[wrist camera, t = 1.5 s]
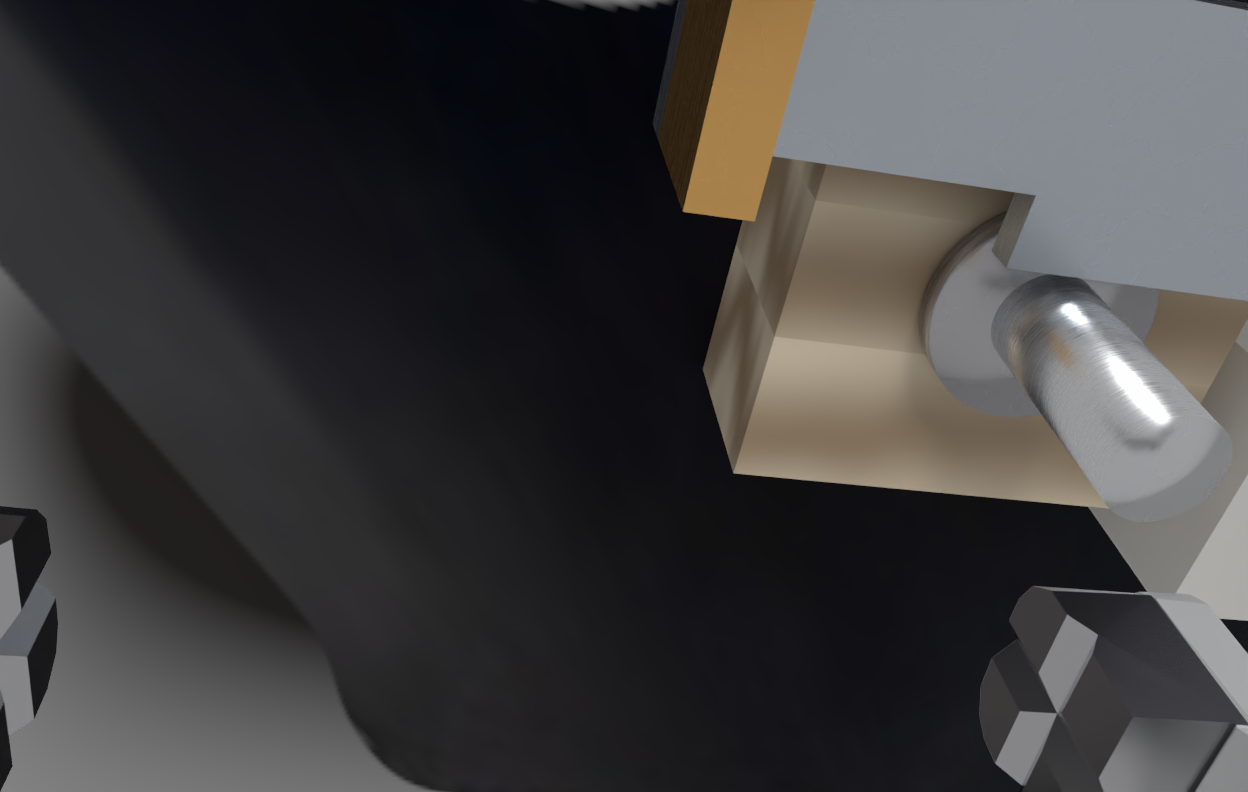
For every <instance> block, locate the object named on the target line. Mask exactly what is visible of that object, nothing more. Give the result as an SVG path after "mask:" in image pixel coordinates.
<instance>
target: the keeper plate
mask: <svg viewBox="0 0 1248 792" xmlns="http://www.w3.org/2000/svg"><path fill="white" fill-rule="evenodd" d="M653 126H654V129H655V132H656V135H657V138H658V141H659V144H660V146H661V149H662V152H663V155H664V158H665V161H666V164H667V167H668V170H669V173H670V176H671V179H672V182H673V185H674V187H675V190H676V193H677V196H678V199H679V202H680V205H681V208H682V211H683V212H689V213H696V214H703V215H710V216H718V217H725V218H732V219H740V220H747V221H754V222H755V219H756V215H757V212H758V208H759V204H760V201H761V197H762V193H763V190H764V186H765V182H766V179H767V175H768V171H769V168H770V164H771V160H772V157H773V156H775V157H782V158H789V159H795V160H802V161H809V162H815V163H822V164H829V165H835V166H842V167H849V168H855V169H862V170H869V171H876V172H882V173H889V174H896V175H902V176H909V177H916V178H922V179H929V180H936V181H943V182H949V183H956V184H963V185H969V186H976V187H983V188H989V189H996V190H1003V191H1010V192H1015V193H1014V196H1013V198H1012V201H1011V203H1010V206H1009V208H1008V211H1007V213H1006V216H1005V218H1004V221H1003V223H1002V226H1001V228H1000V231H999V233H998V236H997V238H996V241H995V243H994V246H993V248H992V252H993V253H994V254H995V256H996V257H997V258H998V259H999V260H1000V262H1001V263H1002V264H1003V265H1004V266H1005V268H1008V269H1016V270H1023V271H1030V272H1038V273H1045V274H1053V275H1060V276H1067V277H1075V278H1082V279H1089V280H1097V281H1104V282H1112V283H1119V284H1126V285H1134V286H1141V287H1149V288H1156V289H1163V290H1171V291H1178V292H1185V293H1193V294H1200V295H1208V296H1215V297H1222V298H1230V299H1237V300H1245V301H1248V3H1242V2H1237V1H1232V0H679V1H678V6H677V10H676V15H675V20H674V25H673V29H672V34H671V39H670V44H669V48H668V53H667V58H666V63H665V68H664V72H663V77H662V82H661V87H660V91H659V96H658V101H657V106H656V110H655V115H654V120H653Z"/></svg>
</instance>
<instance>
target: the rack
mask: <svg viewBox="0 0 1248 792" xmlns="http://www.w3.org/2000/svg"><path fill="white" fill-rule="evenodd" d="M1201 405H1202V406H1203V407H1204V408H1205V409H1206V410H1207V411H1208V412H1209V414H1210V415H1211V416H1212V417H1213V418H1214V419H1215V420H1216V421H1217V422H1218V423H1219V424H1220V425H1221V426H1222V427H1223V428H1224V430H1225V431H1226V432H1227V434H1228V435H1229V437H1230V440H1231V443H1232V449H1233V450H1232V459H1231V464H1230V466H1229V469H1228V471H1227V473H1226V475H1225V477H1224V478H1223V480H1222V481H1221V483H1220V484H1219V485H1218V487H1217V488H1216V489H1215V490H1214V491H1213V492H1212V493H1211V494H1210V495H1209V496H1208V497H1207V498H1206V499H1204V500H1203V501H1202V502H1200V503H1199V504H1197V505H1196V506H1195V507H1193V508H1191V509H1189V510H1188V511H1186V512H1183V513H1181V514H1179V515H1176V516H1174V517H1171V518H1167V519H1164V520H1159V521H1151V522H1137V521H1131V520H1128V519H1124V518H1122V517H1120V516H1118V515H1116V514H1115V513H1113V512H1112V511H1111V510H1110V509H1108V508H1097V507H1089V509H1090V510H1091V512H1092V513H1093V514H1094V516H1095V517H1096V519H1097V520H1098V522H1099V523H1100V524H1101V526H1102V527H1103V529H1104V530H1105V532H1106V533H1107V535H1108V536H1109V537H1110V539H1111V540H1112V542H1113V543H1114V545H1115V546H1116V547H1117V549H1118V550H1119V552H1120V553H1121V555H1122V556H1123V558H1124V559H1125V560H1126V562H1127V563H1128V565H1129V566H1130V568H1131V569H1132V570H1133V572H1134V573H1135V575H1136V576H1137V578H1138V579H1139V581H1140V582H1141V583H1142V585H1143V586H1144V588H1145V589H1146V591H1147V592H1154V593H1174V594H1191V595H1192V596H1194V597H1196V598H1198V599H1199V600H1201V601H1203V602H1205V603H1206V604H1208V605H1209V607H1210V608H1211V609H1212V610H1213V612H1214V613H1215V614H1216V615H1217V616H1218V618H1219V619H1232V620H1246V621H1248V319H1247V321H1246V323H1245V325H1244V327H1243V328H1242V330H1241V332H1240V334H1239V336H1238V337H1237V339H1236V341H1235V343H1234V345H1233V346H1232V348H1231V350H1230V352H1229V354H1228V355H1227V357H1226V359H1225V361H1224V363H1223V364H1222V366H1221V368H1220V370H1219V372H1218V373H1217V375H1216V377H1215V379H1214V381H1213V382H1212V384H1211V386H1210V388H1209V390H1208V391H1207V393H1206V395H1205V397H1204V399H1203V400H1202V402H1201Z"/></svg>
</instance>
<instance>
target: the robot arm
mask: <svg viewBox="0 0 1248 792" xmlns="http://www.w3.org/2000/svg"><path fill="white" fill-rule="evenodd" d="M50 554H51V550H50V543H49V536H48V529H47V522H46V519H45V517H44V516H43V515H42V514H40V513H39V512H38V511H37V510H34V509H22V508H13V507H2V506H0V791H1V789H2V787H3V785H4V783H5V781H6V779H7V776H8V774H9V772H10V770H11V768H12V759H11V751H10V743H9V736H10V735H11V734H12V733H14V732H15V731H17V730H18V729H19V728H21V727H23V726H24V725H26V724H27V723H29V722H30V721H32V720H33V719H34V718H35V716H36V713H37V711H38V709H39V706H40V704H41V702H42V700H43V697H44V695H45V693H46V690H47V687H48V683H49V679H50V675H51V671H52V667H53V663H54V659H55V654H56V644H57V628H58V627H57V626H58V620H57V608H56V598H55V597H54V596H53V595H52V594H51V593H50V592H49V591H48V590H47V589H46V588H45V587H44V586H43V585H42V584H41V583H40V582H39V581H38V580H37V579H38V578H39V576H40V574H41V572H42V570H43V568H44V566H45V564H46V562H47V560H48V558H49V556H50ZM1009 621H1010V624H1011V627H1012V629H1013V632H1014V635H1015V637H1016V641H1014V642H1013V643H1012V644H1010V645H1009V646H1007V647H1006V648H1005V649H1003V650H1002V651H1001V652H999V653H998V654H997V655H995V656H994V657H992V659H991V662H990V664H989V667H988V669H987V672H986V674H985V677H984V679H983V682H982V684H981V692H980V714H979V717H980V721H981V726H982V731H983V735H984V740H985V742H986V744H987V747H988V749H989V751H990V753H991V755H992V758H993V760H994V762H995V764H997V765H998V766H999V767H1000V768H1001V769H1003V770H1004V771H1005V772H1006V773H1007V774H1009V775H1010V776H1011V777H1012V778H1014V779H1015V780H1016V781H1017V782H1018V783H1020V784H1021V788H1020V792H1248V654H1247V652H1246V651H1245V650H1244V649H1243V647H1242V646H1241V645H1240V644H1239V642H1238V641H1237V640H1236V639H1235V637H1234V636H1233V635H1232V634H1231V633H1230V631H1229V630H1228V629H1227V628H1226V626H1225V625H1224V624H1223V623H1222V621H1221V620H1220V619H1219V618H1218V616H1217V615H1216V614H1215V613H1214V612H1213V610H1212V609H1211V608H1210V607H1209V605H1208V604H1206V603H1205V602H1203V601H1201V600H1199V599H1198V598H1196V597H1194V596H1192V595H1191V594H1174V593H1154V592H1137V593H1125V592H1111V591H1097V590H1082V589H1068V588H1054V587H1040V586H1032V587H1031V588H1030V589H1029V590H1028V591H1027V592H1026V593H1025V594H1024V595H1022V596H1021V597H1020V598H1019V600H1018V602H1017V604H1016V607H1015V609H1014V611H1013V613H1012V615H1011V617H1010V619H1009Z"/></svg>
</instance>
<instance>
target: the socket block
mask: <svg viewBox="0 0 1248 792" xmlns="http://www.w3.org/2000/svg"><path fill="white" fill-rule="evenodd" d="M1014 193H1015V192H1010V191H1003V190H996V189H989V188H983V187H976V186H969V185H963V184H956V183H949V182H943V181H936V180H929V179H922V178H916V177H909V176H902V175H896V174H889V173H882V172H876V171H869V170H862V169H855V168H849V167H842V166H835V165H829V164H822V163H815V162H809V161H802V160H795V159H789V158H782V157H775V156H773V157H772V160H771V164H770V168H769V171H768V175H767V179H766V182H765V186H764V190H763V193H762V197H761V201H760V204H759V208H758V212H757V215H756V219H755V222H754V221H747V220H743V221H742V224H741V228H740V232H739V236H738V239H737V243H736V247H735V251H734V254H733V258H732V262H731V266H730V269H729V273H728V277H727V281H726V284H725V288H724V292H723V296H722V299H721V303H720V307H719V311H718V314H717V318H716V322H715V326H714V329H713V333H712V337H711V341H710V344H709V348H708V352H707V356H706V359H705V363H704V367H703V372H704V375H705V378H706V382H707V385H708V389H709V392H710V395H711V399H712V402H713V405H714V409H715V412H716V416H717V419H718V422H719V426H720V429H721V433H722V436H723V439H724V443H725V446H726V450H727V453H728V456H729V460H730V463H731V467H732V470H733V473H736V474H746V475H757V476H768V477H778V478H789V479H800V480H810V481H821V482H831V483H842V484H853V485H863V486H874V487H885V488H895V489H906V490H916V491H927V492H938V493H948V494H959V495H970V496H980V497H991V498H1002V499H1012V500H1023V501H1033V502H1044V503H1055V504H1065V505H1076V506H1087V507H1097V508H1108V506H1107V505H1106V504H1105V502H1104V501H1103V499H1102V498H1101V497H1100V495H1099V494H1098V493H1097V491H1096V490H1095V488H1094V487H1093V486H1092V484H1091V483H1090V481H1089V480H1088V479H1087V477H1086V476H1085V474H1084V473H1083V472H1082V470H1081V469H1080V467H1079V466H1078V465H1077V463H1076V462H1075V461H1074V459H1073V458H1072V456H1071V455H1070V454H1069V452H1068V451H1067V449H1066V448H1065V447H1064V445H1063V444H1062V442H1061V441H1060V440H1059V438H1058V437H1057V435H1056V434H1055V433H1054V431H1053V430H1052V429H1051V427H1050V426H1049V424H1048V423H1047V422H1046V420H1045V419H1044V417H1043V416H1042V415H1041V414H1040V415H1034V416H1026V417H1002V416H996V415H990V414H987V413H983V412H980V411H977V410H975V409H973V408H971V407H969V406H967V405H965V404H964V403H962V402H961V401H959V400H958V399H956V398H955V397H954V396H953V395H952V394H951V393H950V392H949V391H948V390H947V389H946V387H945V386H944V385H943V383H942V382H941V381H940V379H939V377H938V376H937V374H936V372H935V371H934V369H933V368H932V366H931V364H930V363H929V361H928V359H927V357H926V355H925V353H924V350H923V347H922V344H921V339H920V332H919V316H920V309H921V303H922V300H923V297H924V294H925V290H926V288H927V286H928V284H929V282H930V279H931V277H932V276H933V274H934V272H935V271H936V269H937V267H938V266H939V264H940V263H941V261H942V260H943V259H944V258H945V256H946V255H947V254H948V252H949V251H950V250H951V249H952V248H953V247H954V246H955V245H956V244H957V243H958V242H959V241H960V240H961V239H962V238H964V237H965V236H966V235H967V234H968V233H969V232H971V231H972V230H973V229H975V228H976V227H978V226H979V225H981V224H982V223H984V222H985V221H987V220H989V219H990V218H992V217H994V216H996V215H998V214H1000V213H1002V212H1005V211H1007V210H1008V208H1009V206H1010V203H1011V201H1012V198H1013V196H1014ZM1247 319H1248V301H1245V300H1237V299H1230V298H1222V297H1215V296H1208V295H1200V294H1193V293H1185V292H1178V291H1171V290H1163V289H1159V297H1158V303H1157V310H1156V313H1155V316H1154V320H1153V323H1152V325H1151V327H1150V330H1149V332H1148V334H1147V336H1146V338H1145V340H1144V341H1143V343H1144V344H1145V345H1146V346H1147V348H1148V349H1149V350H1150V351H1151V352H1152V353H1153V354H1154V355H1155V356H1156V357H1157V358H1158V359H1159V360H1160V361H1161V362H1162V363H1163V365H1164V366H1165V367H1166V368H1167V369H1168V370H1169V371H1170V372H1171V373H1172V374H1173V375H1174V376H1175V377H1176V378H1177V379H1178V381H1179V382H1180V383H1181V384H1182V385H1183V386H1184V387H1185V388H1186V389H1187V390H1188V391H1189V392H1190V393H1191V394H1192V395H1193V396H1194V398H1195V399H1196V400H1197V401H1198V402H1199V403H1200V404H1201V402H1202V400H1203V399H1204V397H1205V395H1206V393H1207V391H1208V390H1209V388H1210V386H1211V384H1212V382H1213V381H1214V379H1215V377H1216V375H1217V373H1218V372H1219V370H1220V368H1221V366H1222V364H1223V363H1224V361H1225V359H1226V357H1227V355H1228V354H1229V352H1230V350H1231V348H1232V346H1233V345H1234V343H1235V341H1236V339H1237V337H1238V336H1239V334H1240V332H1241V330H1242V328H1243V327H1244V325H1245V323H1246V321H1247ZM1108 509H1109V508H1108Z"/></svg>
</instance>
